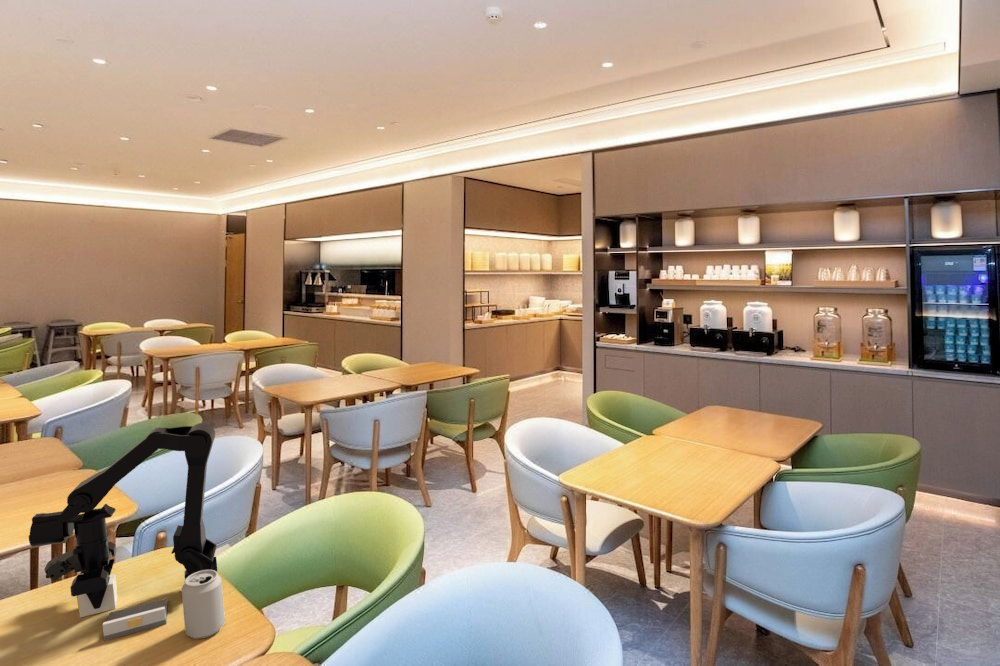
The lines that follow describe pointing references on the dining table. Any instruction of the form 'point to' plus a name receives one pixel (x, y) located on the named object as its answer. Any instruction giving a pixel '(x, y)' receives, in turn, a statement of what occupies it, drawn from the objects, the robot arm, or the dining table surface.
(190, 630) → the can
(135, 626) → the grey drawer
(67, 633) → the dining table surface
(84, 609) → the carton
